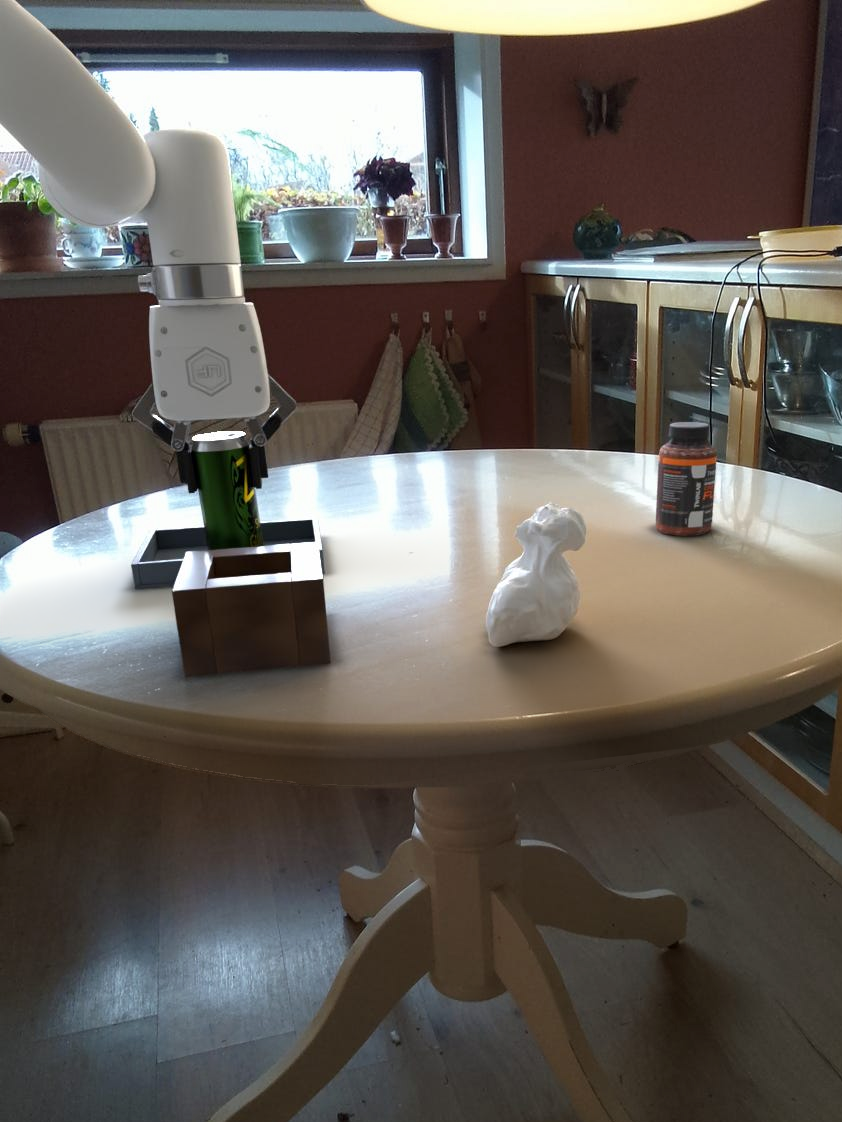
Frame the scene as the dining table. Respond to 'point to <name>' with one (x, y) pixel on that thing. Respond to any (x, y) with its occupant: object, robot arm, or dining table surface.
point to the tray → (206, 548)
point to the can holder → (251, 609)
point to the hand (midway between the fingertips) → (226, 486)
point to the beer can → (226, 490)
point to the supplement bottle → (686, 481)
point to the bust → (538, 580)
